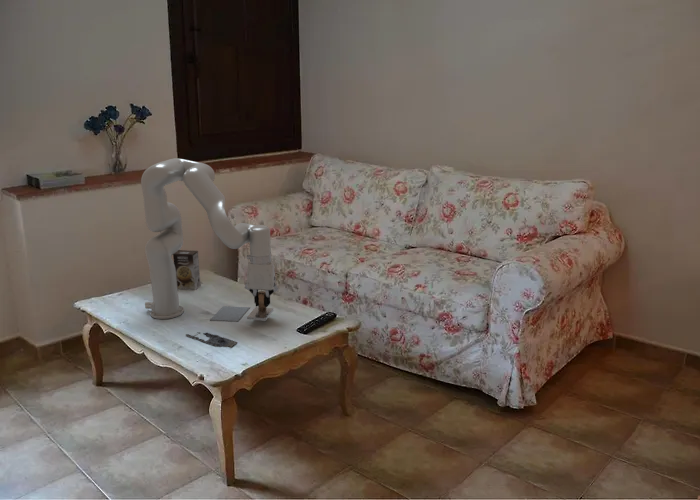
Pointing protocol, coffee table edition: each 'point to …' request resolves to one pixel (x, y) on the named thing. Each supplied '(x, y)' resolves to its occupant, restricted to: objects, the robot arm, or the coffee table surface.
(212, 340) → the driftwood
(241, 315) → the mat
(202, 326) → the coffee table surface
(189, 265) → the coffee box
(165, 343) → the coffee table surface
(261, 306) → the trowel
